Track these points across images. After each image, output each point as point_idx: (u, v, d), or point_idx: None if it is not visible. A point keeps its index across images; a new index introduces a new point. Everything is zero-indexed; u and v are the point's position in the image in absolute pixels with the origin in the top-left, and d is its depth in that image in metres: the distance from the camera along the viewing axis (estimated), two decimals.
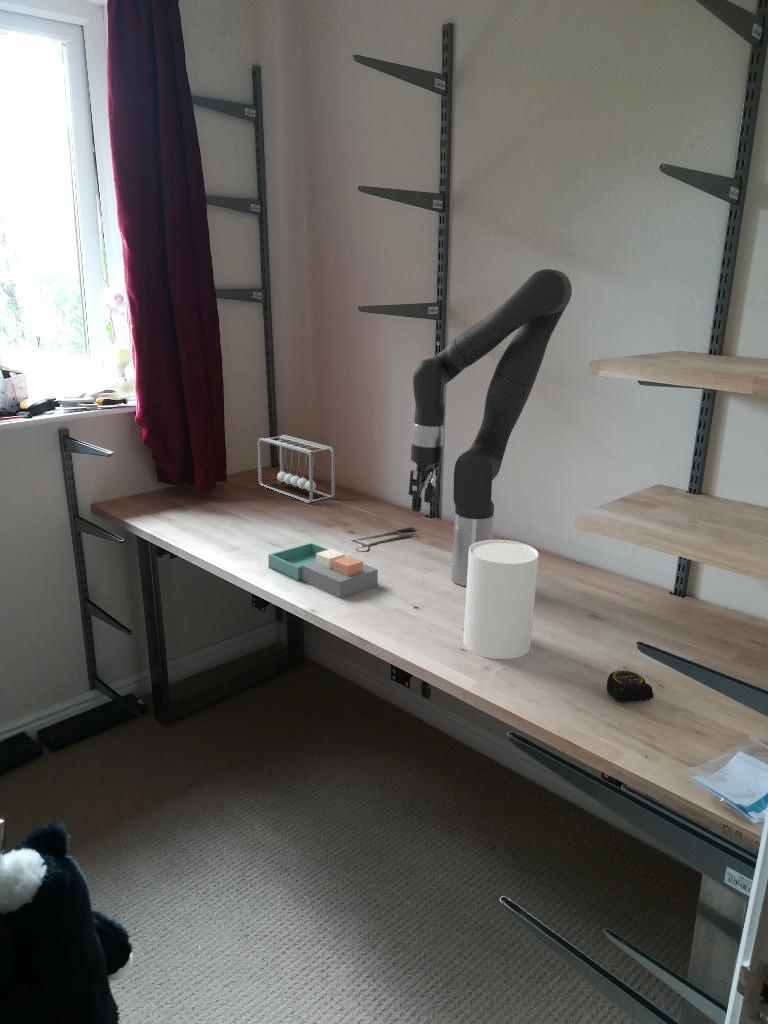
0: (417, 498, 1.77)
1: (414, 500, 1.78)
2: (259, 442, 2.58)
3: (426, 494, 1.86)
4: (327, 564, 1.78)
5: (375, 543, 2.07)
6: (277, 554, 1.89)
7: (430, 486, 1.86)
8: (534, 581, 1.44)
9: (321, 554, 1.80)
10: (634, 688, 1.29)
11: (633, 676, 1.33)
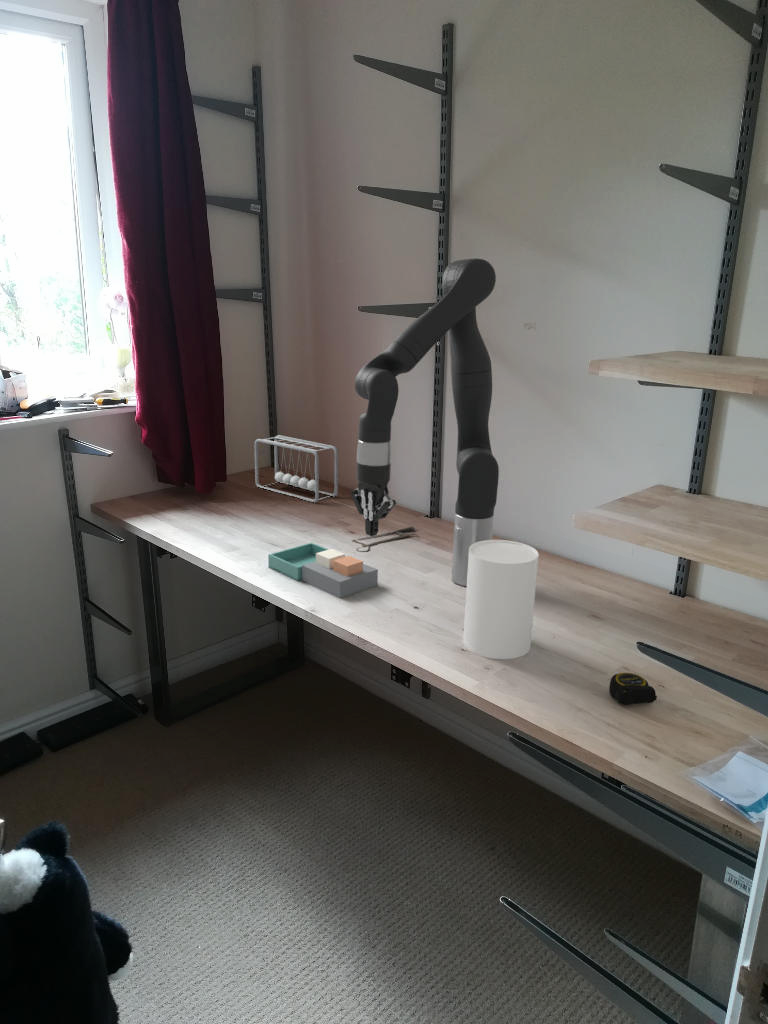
0: (377, 521, 1.67)
1: (374, 524, 1.66)
2: (256, 443, 2.56)
3: None
4: (327, 564, 1.78)
5: (375, 543, 2.07)
6: (277, 554, 1.89)
7: None
8: (534, 581, 1.44)
9: (321, 554, 1.80)
10: (637, 691, 1.29)
11: (636, 678, 1.32)
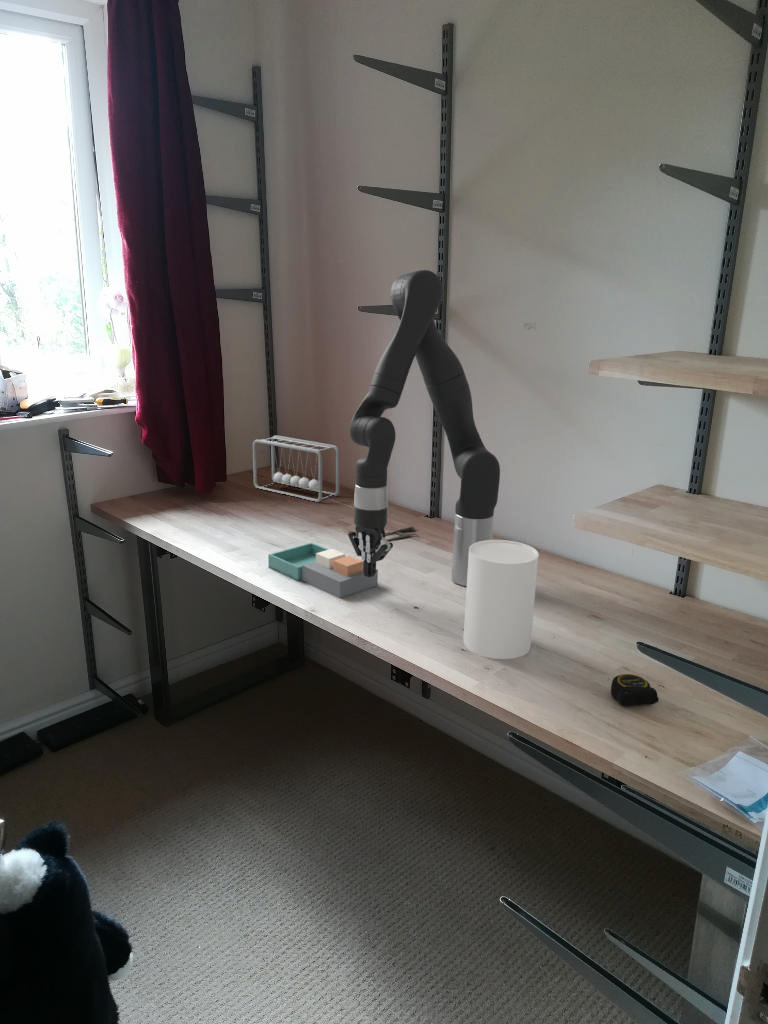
0: (375, 562, 1.70)
1: (372, 566, 1.69)
2: (254, 444, 2.55)
3: None
4: (327, 564, 1.78)
5: None
6: (277, 554, 1.89)
7: None
8: (534, 581, 1.44)
9: (321, 554, 1.80)
10: (638, 692, 1.28)
11: (638, 680, 1.32)
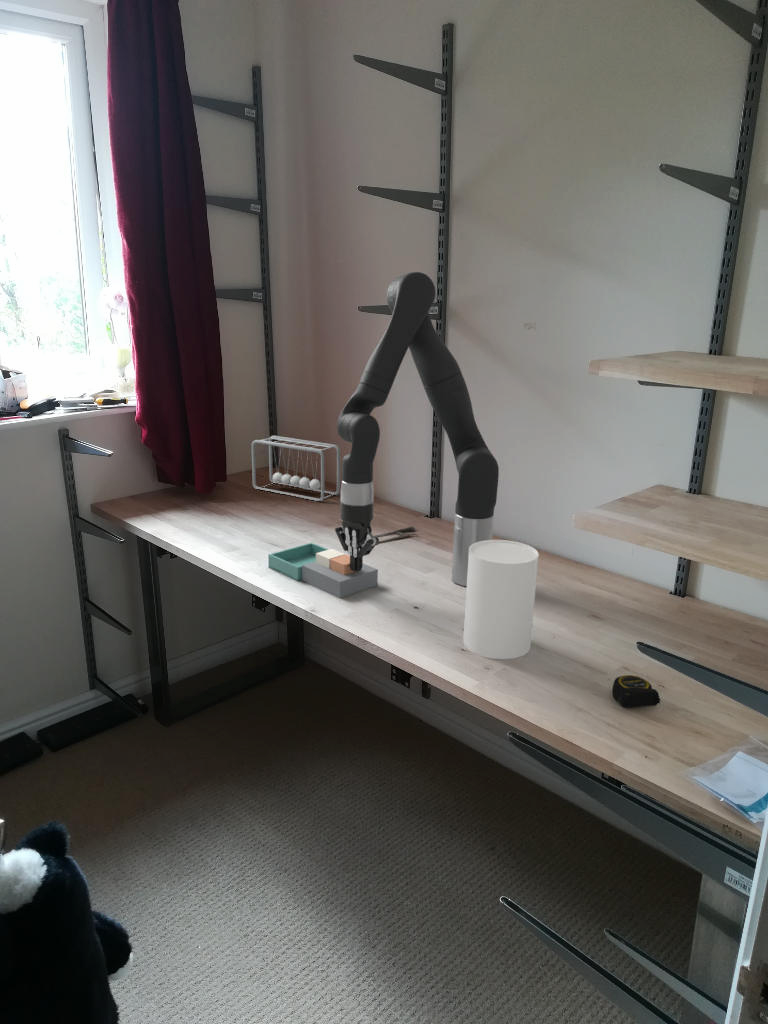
0: (361, 557, 1.73)
1: (359, 560, 1.72)
2: (253, 444, 2.54)
3: None
4: (327, 564, 1.78)
5: None
6: (277, 554, 1.89)
7: None
8: (534, 581, 1.44)
9: (321, 554, 1.80)
10: (640, 694, 1.28)
11: (639, 681, 1.31)
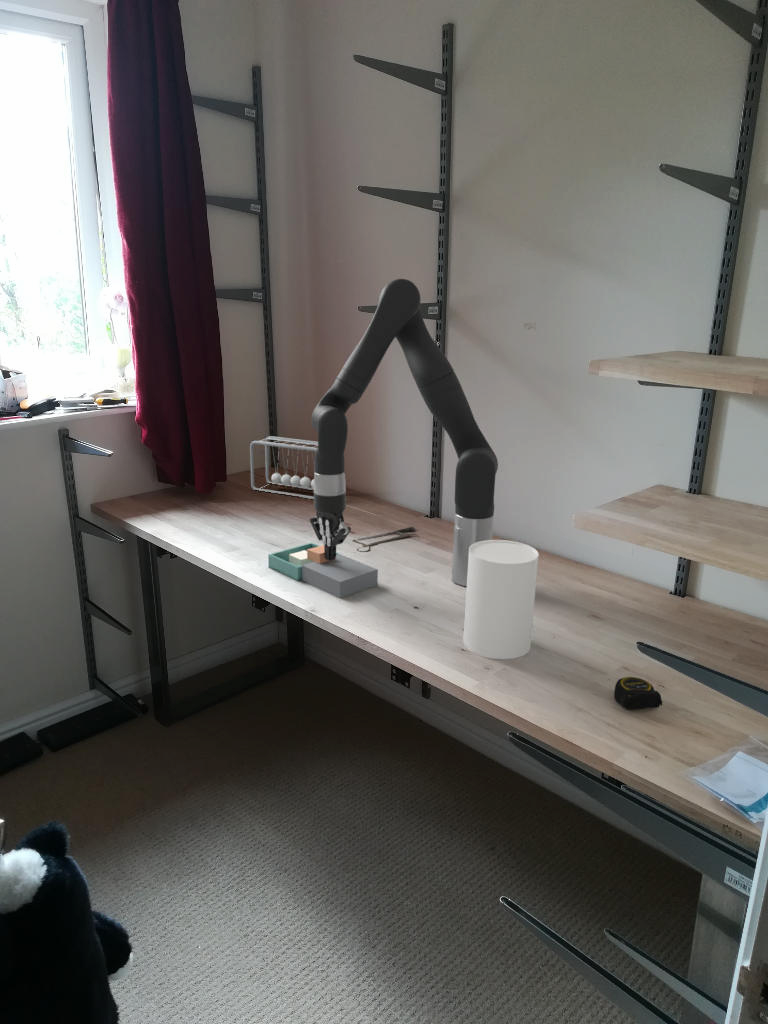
0: (335, 546, 1.79)
1: (332, 549, 1.79)
2: (252, 445, 2.52)
3: None
4: (290, 558, 1.89)
5: (376, 543, 2.07)
6: (277, 554, 1.89)
7: None
8: (534, 581, 1.44)
9: None
10: (642, 695, 1.27)
11: (641, 683, 1.31)
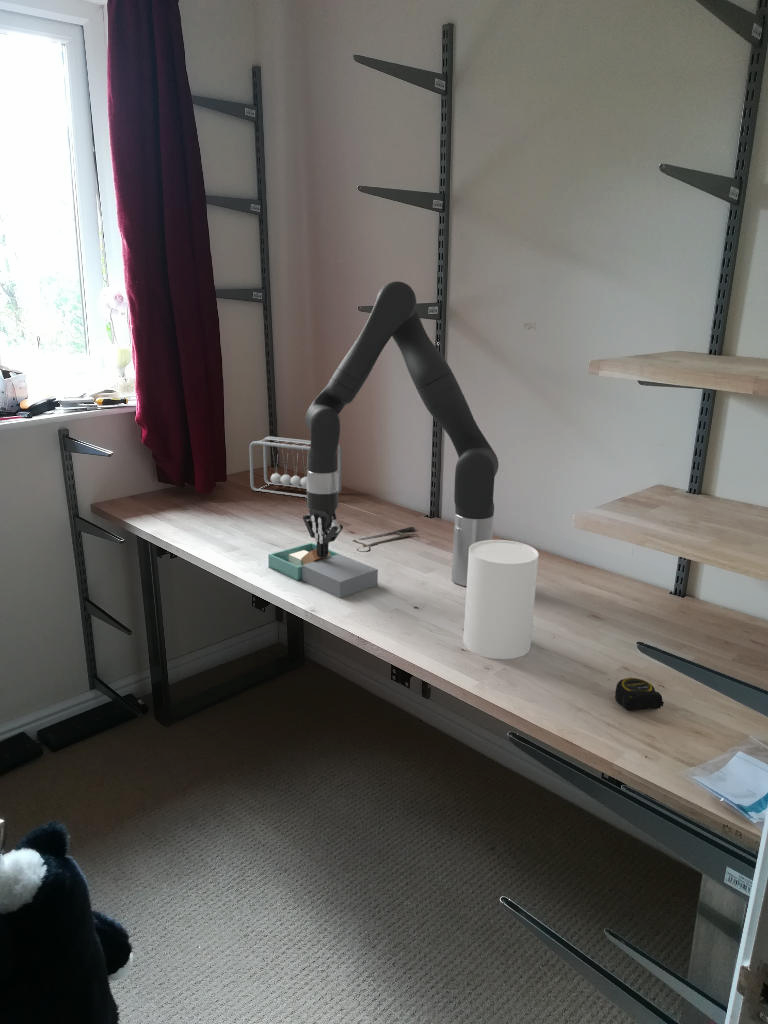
0: (327, 544, 1.81)
1: (325, 547, 1.81)
2: (251, 446, 2.52)
3: None
4: (290, 558, 1.89)
5: (376, 543, 2.07)
6: (277, 554, 1.89)
7: None
8: (534, 581, 1.44)
9: None
10: (643, 697, 1.27)
11: (642, 684, 1.30)
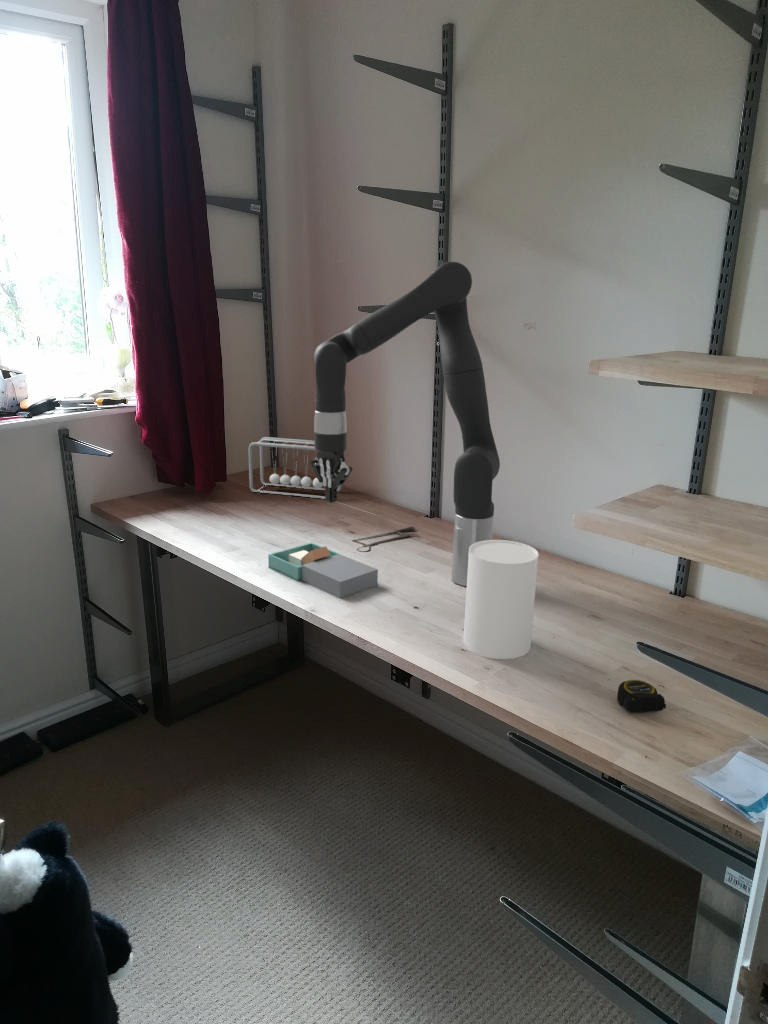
0: (336, 488, 1.76)
1: (333, 491, 1.76)
2: (251, 447, 2.50)
3: None
4: (290, 558, 1.89)
5: (376, 543, 2.07)
6: (277, 554, 1.89)
7: None
8: (534, 581, 1.44)
9: None
10: (645, 699, 1.26)
11: (645, 686, 1.30)
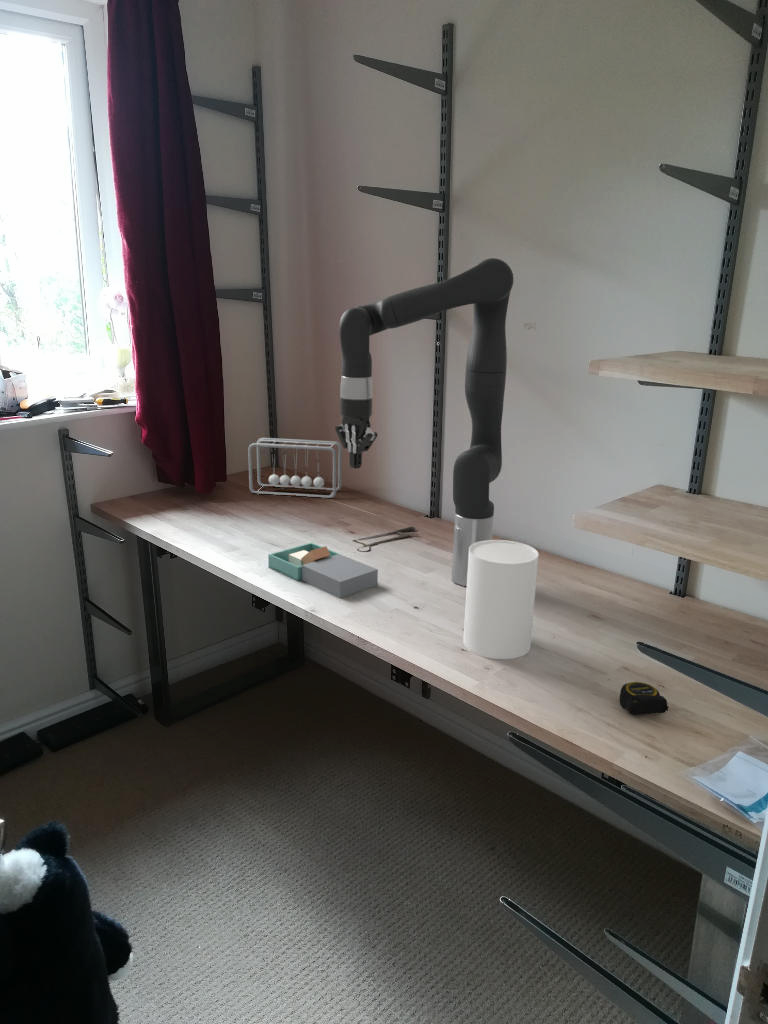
0: (361, 454, 1.77)
1: (358, 457, 1.77)
2: (251, 448, 2.48)
3: None
4: (290, 558, 1.89)
5: (376, 543, 2.07)
6: (277, 554, 1.89)
7: None
8: (534, 581, 1.44)
9: None
10: (648, 701, 1.26)
11: (647, 688, 1.29)
